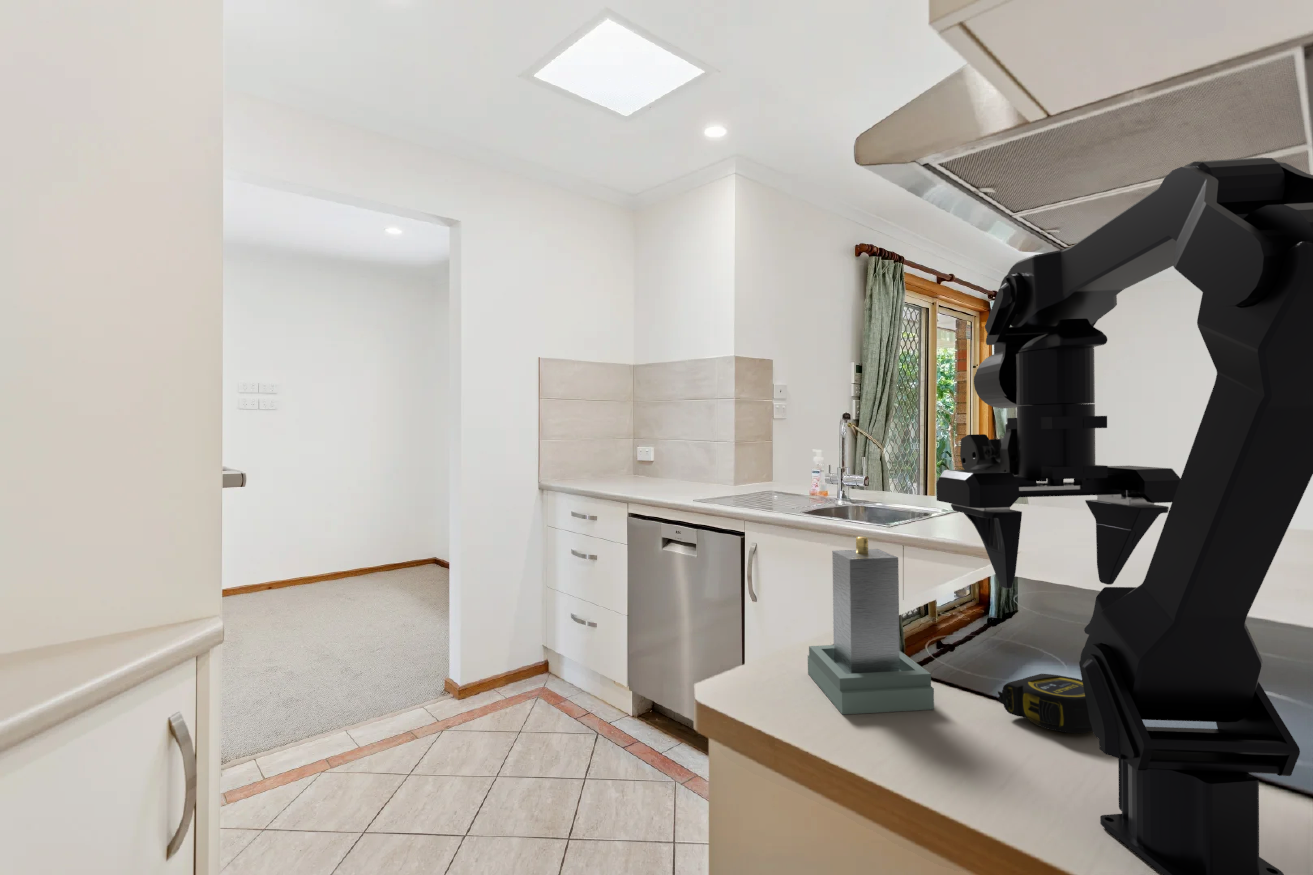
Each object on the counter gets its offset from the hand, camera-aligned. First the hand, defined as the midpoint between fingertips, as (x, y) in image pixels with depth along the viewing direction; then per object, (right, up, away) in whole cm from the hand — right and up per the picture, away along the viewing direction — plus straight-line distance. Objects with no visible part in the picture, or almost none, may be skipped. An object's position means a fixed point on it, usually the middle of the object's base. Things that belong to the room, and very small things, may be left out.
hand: (1056, 585), depth 54 cm
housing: (-13, -11, +10) cm, 20 cm away
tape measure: (+1, -13, +3) cm, 14 cm away
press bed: (-13, -13, +10) cm, 21 cm away
